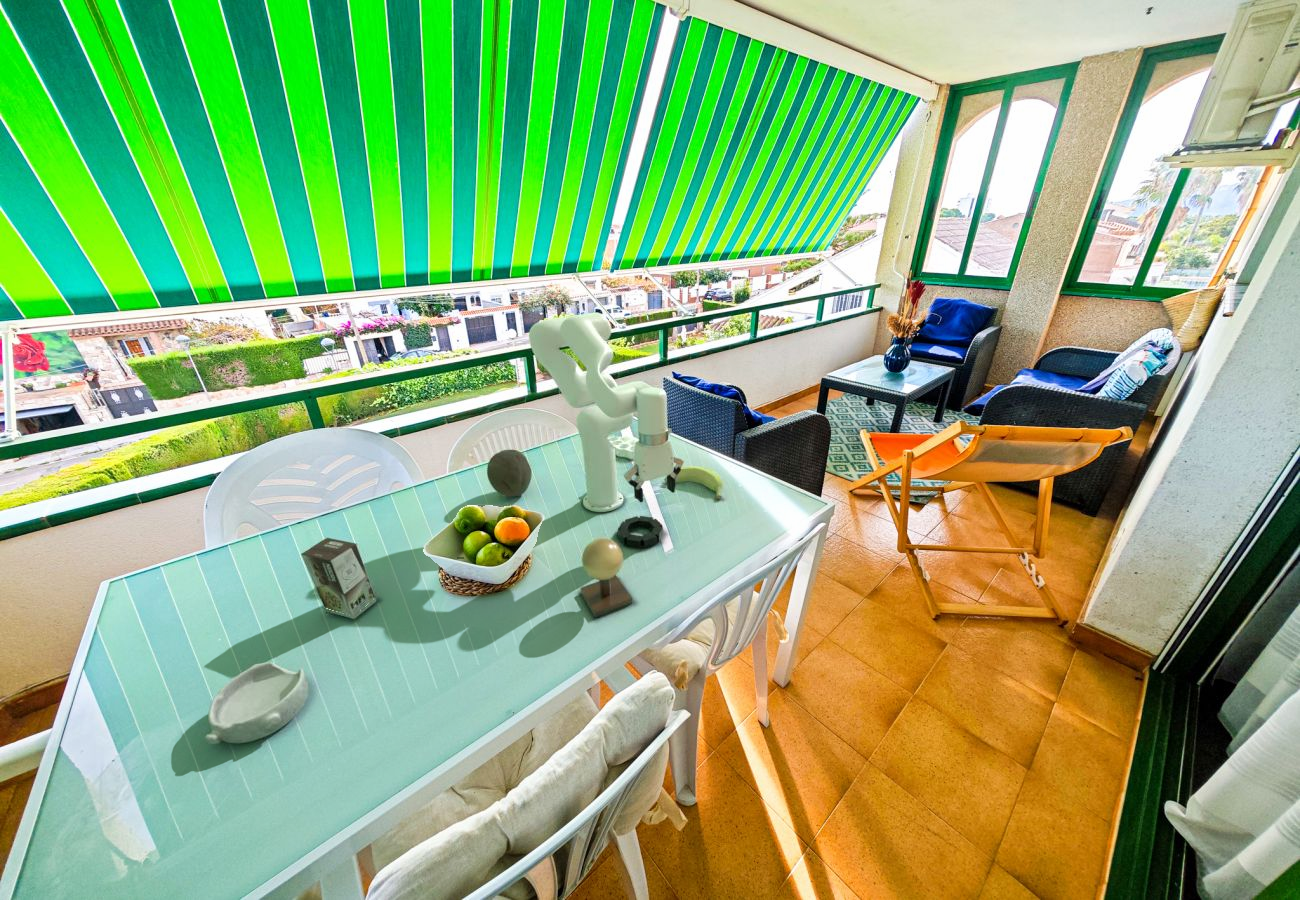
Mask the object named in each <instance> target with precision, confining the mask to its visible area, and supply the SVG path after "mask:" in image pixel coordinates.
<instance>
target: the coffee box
mask: <svg viewBox="0 0 1300 900" xmlns="http://www.w3.org/2000/svg"><path fill="white" fill-rule="evenodd" d="M300 556H301V558H302V560H303V562H304V565H305V567H306V569H307V571H308V574H309V577H310V578H311V580H312V583H313V585H314V588H315V590H316V592H317V595H318V596H319V598H320V601H321V603H322V606H323V608H324V607H325V608H324V611H326V612H327V613H332V614H335V615H338V616H342V617H345V618H349V619H352V620H355V619H357V618H358V617H359V616H360V615H362V614H363V613H364V612H365V611H367V610H368V609H370V607H371V606H372V605H374V604H375V603H376V602H377V598H376V595H375V593H374V589H373V586H372V584H371V581H370V579H369V576H368V572H367V570H366V567H365V564H364V561H363V558H362V556H361V554H360V550H359V548H358V544H357V543H355V542H352V541H351V542H350V541H346V540H341V539H335V538H331V537H326V538H324V539H322V540H321V541H319V542H317V543H315V544H314V545H313V546H311V547H310V548H309V549H307V550H305V551H304V552H301V554H300ZM374 598H375V599H374ZM373 599H374V600H373ZM372 600H373V601H372ZM371 601H372V602H371ZM368 603H369V604H368ZM367 604H368V605H367ZM366 605H367V606H366ZM365 606H366V607H365ZM326 608H328V609H326ZM329 609H331V610H329ZM332 610H334V611H332ZM360 610H361V611H360ZM336 611H338V612H336ZM339 612H341V613H339ZM342 613H344V614H342ZM346 614H347V615H346ZM349 615H350V616H349Z"/></svg>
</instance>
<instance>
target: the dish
mask: <svg viewBox="0 0 1300 900" xmlns="http://www.w3.org/2000/svg"><path fill="white" fill-rule="evenodd" d="M309 687H310V686H309V680H308V677H307V674H306V671H305V670H304V669H303V668H300V669H299V670H298V672H295V671H292V670H289V669H287V668H285V667H282V666H280V665H278V664H276V663H274V662H271V661H267V662H262V663H256V664H252V666H250V667H249V668H248V669H246V670H244V671H242V672H241V673H239V674H238V675H236V676H234V677H233V678H232V679H230V681H229V682H227V683H225V685H224V686H222V687H221V688H220V689H219V691H218V693H217V695H216V696H215V697H213V698H212V700H211V703H210V705H209V709H208V715H207V717H208V718H207V719H208V724H209V726H210V728H211V732H210V733H208V734H206V735H205V738H204V739H205V741H206V742H207V743H208V744H210V745H218V744H220V743H221V742H226V743H229V744H244V743H249V742H250V743H251V742H253V741H257V740H259V739H262V738H263V739H264V738H265V737H268V736H269V735H272V734H273V733H275V732H277V731H279V730H280V729H282V728H283V727H284V726H286V725H287V724H288V723H289V722H291V720H293V719H294V718H295V717H296V716H297V715H298V713H299V712H300V710H301V709H302V708H303V707H304V705H305V704H306V702H307V700H308V697H309V690H310V689H309Z"/></svg>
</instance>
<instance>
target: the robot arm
mask: <svg viewBox="0 0 1300 900" xmlns="http://www.w3.org/2000/svg"><path fill="white" fill-rule="evenodd" d="M611 335H612V325H611V323H610V321H609V319H608V317H606V316H605V315H604V314H602V313H601V312H589V313H583V314H576V315H575V314H574V315H568V316H567V315H566V316H561V317H555V318H549V319H543V320H540V321H538V322H536V323H534V324H533V325H532V326H531V328H530V329H529V332H528V340H529V345H530V348H531V351H532V353H533V354H534V356H535V358H536V359H537V361H538V362H539V364H541V365H542V367H543V368H544V369H545V370H546V371H547V372H548V374H549V375H550V376H551V378H552V380H553V381H554V383H555V384H556V386H557V388H558V389H559V391H560V393H561V394H562V396H563V397H564V399H565V401H566V402H567V404H568V405H569V406H570V407H572V408H573V409H581V408H584V409H582V410H581V411H580V412H579V413H578V414H577V416H576V420H575V424H576V428H577V431H578V434H579V438H580V442H581V447H582V455H583V464H584V475H585V485H586V495H585V496H584V497H583V499H582V504H583V507H584V508H585V509H586V510H588V511H591V512H595V513H606V512H607V513H608V512H610V511H614V510H616V509H618V508H619V507H621V506H622V505H623V503H624V495H623V494H622V493H621V492H620V491H619V488H618V487H619V486H618V474H617V473H618V472H617V459H616V454H615V449H614V446H613V445H612V443H611V442H610V441H609V440H608V438H609V437H610V436H611V435H613V434H614V433H618V432H620V431H624V430H625V429H627V428H629V427H630V426H631V425H632V424H633V422H634V413H636V415H637V418H636V419H637V437H638V438H637V439H639V441H637V442H636V444H635V449H634V459H633V466H632V467H631V468H629V470H627V471H626V472H624V474H623V477H624V479H625V480H626V482H627V483H628V484H629V485H630V486H631V487H633V493H634V498H635V499H636V500H637V501H638V502H639V503H643V502H644V489H643V488H642V486H643V485H644V483H645V482H648V481H652V480H655V479H660V478H662V477H666V476H667V483H666V489H667V490H668V491H669V492H670V493H672V494H673V493H676V487H677V486H676V485H677V484H676V482H675V479H676V478H677V475H678V474H679V472H680V471H681V468H682V467H683V465H684V460H683V459H682V458H679V457H675V456H674V452H673V448H672V447H673V446H672V443H671V440H670V437H669V435H670V434H672V433H673V430H672V428H670V427H668V396H667V392H666V391H665V389H664V388H661V387H655V386H651V385H650V384H648V383H647V382H644V381H641V380H636V381H631V382H628V383H624V384H620V385H618V384H617V382H616V380H615V378H613V376H612V375H611V374H610V373H608V372H606V371H605V370H606V369H607V368H608V367H609V366H610V365H611V363H612V361H613V359H614V351H613V349H612V348H611V347H610V346H609V344H608V343H607V341H608V340H609V339H610V337H611ZM566 347H568V348H569V349H570V350H571V351H572V352H573V354H574V355H575V356H576V358H578V360H579V361H580V362H581V364H582V365H583V366H584V367H585V368H586V371H585V372H584V371H583V369H582V368H581V367H580V365H578V362H577V361H576V360H575V359H574V358H573V357H572V356H571V355H569V354H568V353H567V352H564V351H563V350H561V349H560V348H566ZM608 436H609V437H608ZM633 476H635V477H634V479H633V478H632V477H633Z"/></svg>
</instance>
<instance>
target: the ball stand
mask: <svg viewBox="0 0 1300 900" xmlns="http://www.w3.org/2000/svg"><path fill="white" fill-rule="evenodd" d="M581 564H582V567H583V570H584V571H585V573H586V574H587V575H588V576H589V577H590V578H592V579H594V580H597V581H595V582H593V583H590V584H587V585H585V586H582V587H580V588H579V589H580V594H581V595H582V597H583V599H584V601H585V603H586V604H587V606H588V608H589V610H590V611H591V612H592V615H593V617H594V618H595V619H596V618H599V617H601V616H603V615H606V614H608V613H611V612H615V611H617V610H618V609H621V608H624V607H626V606H629V605H631V604H633V597H632V596H631V594H630V593H629V592H628V590H627V589H626V587H625V586H624V585H623V583H622V582H621V580H620V579H619V578H618V576H617V575H618V573H619V572H620V571H621V569H622V568H623V564H624V553H623V550H622V548H621V547H620V546H619V544H618V543H617V542H616V541H615V540H613V539H610V538H606V537H599V538H596V539H594V540H592V541H590V542H589V543H588V544H587V545H586V546H585V547H584V550H583V552H582V555H581Z"/></svg>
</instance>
